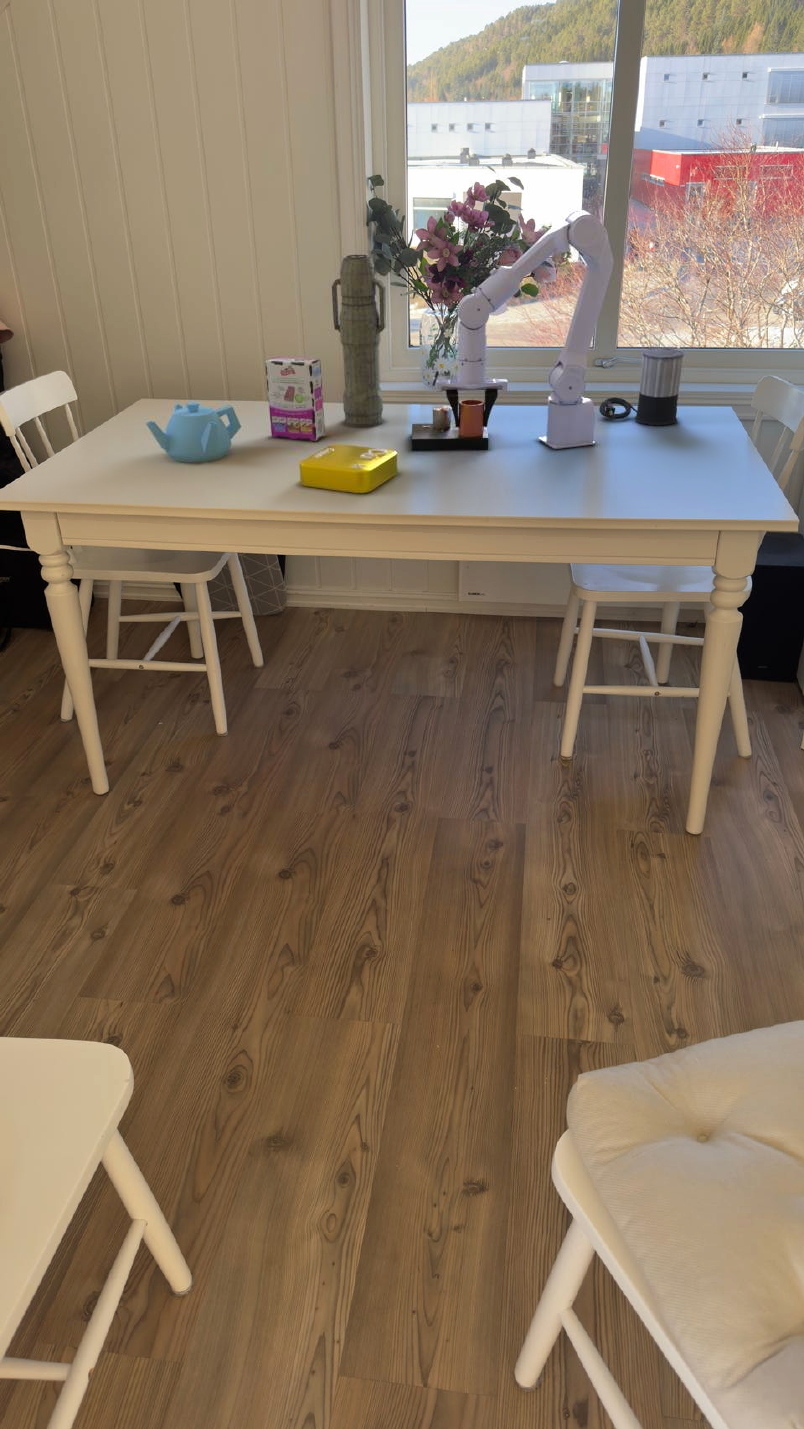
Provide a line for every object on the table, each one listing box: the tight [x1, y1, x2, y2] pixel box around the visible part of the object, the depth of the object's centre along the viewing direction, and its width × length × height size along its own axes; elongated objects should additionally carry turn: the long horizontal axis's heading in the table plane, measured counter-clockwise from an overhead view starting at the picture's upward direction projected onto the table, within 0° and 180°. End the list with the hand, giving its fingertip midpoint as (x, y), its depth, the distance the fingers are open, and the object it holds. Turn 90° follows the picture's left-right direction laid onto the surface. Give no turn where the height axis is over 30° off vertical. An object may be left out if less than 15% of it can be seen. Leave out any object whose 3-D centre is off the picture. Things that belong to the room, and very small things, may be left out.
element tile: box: [298, 443, 398, 494], centre depth 198 cm, size 15×15×5 cm
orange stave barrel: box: [458, 398, 485, 437], centre depth 214 cm, size 5×5×6 cm
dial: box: [432, 405, 452, 429], centre depth 219 cm, size 4×4×4 cm
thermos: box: [331, 254, 387, 428], centre depth 226 cm, size 9×12×35 cm
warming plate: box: [411, 422, 489, 452], centre depth 219 cm, size 16×13×3 cm
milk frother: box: [598, 347, 685, 426], centre depth 228 cm, size 14×16×15 cm
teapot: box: [145, 401, 242, 464], centre depth 212 cm, size 15×15×11 cm
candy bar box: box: [264, 356, 326, 442], centre depth 221 cm, size 11×5×16 cm, turn 68°
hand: (470, 425), depth 215 cm, fingers closed on orange stave barrel, 5 cm apart
